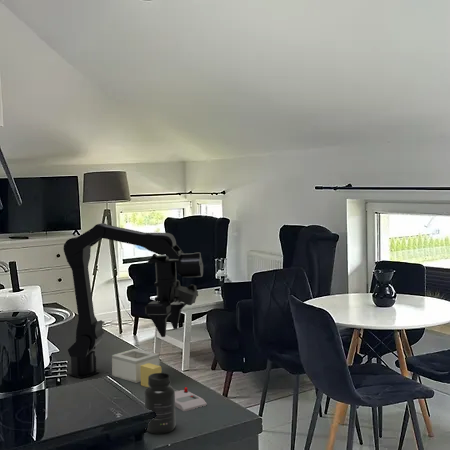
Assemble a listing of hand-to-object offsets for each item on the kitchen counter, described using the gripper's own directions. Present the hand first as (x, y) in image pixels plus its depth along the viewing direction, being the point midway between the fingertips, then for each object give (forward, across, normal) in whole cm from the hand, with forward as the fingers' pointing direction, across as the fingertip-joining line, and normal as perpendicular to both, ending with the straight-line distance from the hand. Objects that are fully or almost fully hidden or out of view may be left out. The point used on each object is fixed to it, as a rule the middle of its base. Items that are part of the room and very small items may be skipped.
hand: (169, 332), depth 175 cm
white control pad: (+13, -18, -10) cm, 25 cm away
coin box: (+12, -2, +10) cm, 16 cm away
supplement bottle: (+13, -36, -11) cm, 40 cm away
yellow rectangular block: (+12, -9, +2) cm, 16 cm away
